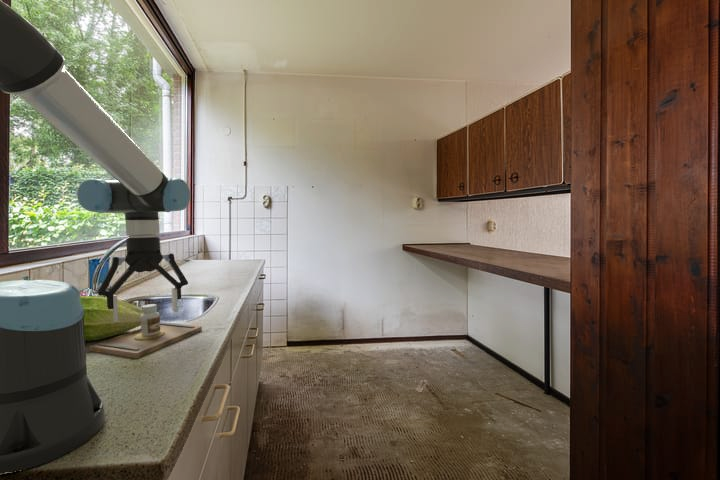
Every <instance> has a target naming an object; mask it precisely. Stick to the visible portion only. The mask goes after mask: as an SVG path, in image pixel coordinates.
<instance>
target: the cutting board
mask: <svg viewBox="0 0 720 480" xmlns="http://www.w3.org/2000/svg"><path fill="white" fill-rule="evenodd" d="M202 327H203V326H201V325H190V324H189V325H188V324H182V323H171V322H163V321H160V333H158V334H155V335H151V336H143V335H142V334H141V328H138V329H135V330H134V331H128V332H126V333H123V334H120V335H117V336H114V337H112V338H109V339H107V340H104V341H100V342H98V343H95V344H93V345H92V344H91V345H89V351H90V352H94V353H99V354H108V355H113V356H119V357H127V358H132V359H138V358H142V357H143V356H144V357H145V355H148V354H150V353H152V352H155V351H157V350H159V349H162V348H164V347H167V346H169V345H172V344H174V343H176V342H178V341H180V340H184V339H186V338H188V337H190V336H192V335H191V334H193V333H195V334H197V333H199V332H198V331H200V330H202ZM202 331H203V330H202ZM196 332H197V333H196ZM200 332H201V331H200ZM189 335H190V336H189ZM193 335H194V334H193ZM187 336H188V337H187ZM185 337H186V338H185Z"/></svg>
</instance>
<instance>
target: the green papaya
mask: <svg viewBox="0 0 720 480" xmlns="http://www.w3.org/2000/svg"><path fill="white" fill-rule="evenodd" d="M80 298H81V305H82V306H83V309H84V310H83V312H84V314H83V315H84V333H85V342H94V341H99V340H103V339H107V338H111V337H117V336H121V335H124V334H126V333H128V332H130V331H131V330H134V329H136V328H139V327H141V318H140V316H141V315H142V314H143V312H142V307H140V306H137V305H135V304H133V303H131V302H128V301H125V300H122V299H118V298H117V307H118V322H114V321H113V309H108V307H107V297H106V296H103V295H97V296H96V295H80Z"/></svg>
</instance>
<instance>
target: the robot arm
mask: <svg viewBox="0 0 720 480" xmlns="http://www.w3.org/2000/svg"><path fill="white" fill-rule="evenodd" d="M65 64H66V59H65V58H64V56H63V54H62V53H60V51H59V50H58V49H57V48H56V47H55V46H54V44H52V43H51V41H50V40H48V39H47V38H46V36H44V35H43V33H41V31H40V30H39V29H37V28H36V27H35V26H34V25H33V24H32V23H30V22H29V21H28V20H27V19H26V18H25V17H24V16H23V15H21V14H19V12H18V11H15V10H14V9H13V8H12V7H11V5H8V4H7V3H6V2H4V1H2V0H0V91H1V92H3V93H4V94H9V95H15V96H19V97H20V98H21V99H22V101H24V102H26V103H27V104H28V105H29V107H32V109H34V110H35V111H36V112H37V113H38V114H40V116H41V117H42V118H44V119H45V120H46V121H48V122H49V123H50V124H51V125H52V126H53V127H55V128H56V129H57V130H58V131H59V132H60V133H61V134H63V135H64V136H65V137H66V138H67V139H68V140H69V141H71V142H72V143H73V144H74V145H76V146H77V148H79V149H80V150H82V152H84V153H85V154H86V155H87V157H89V158H91V160H93V161H94V162H95V163H96V164H97V165H99V167H101V168H102V169H103V170H104V171H106V172H107V173H108V174H109V175H110V176H111V177H112V178H114V180H110V179H105V178H87V179H85V180H83V181H82V182H81V183H80V184H79V186H78V188H77V190H76V193H77V202H78V203H79V206H81V207H82V208H83V209H84V210H86V211H88V212H90V213H91V212H92V213H98V214H105V213H106V214H124V217H125V218H124V220H125V235H126V236H127V238H126V255H125V256H123V257H122V256H112V257H111V266H110V267H109V268H108V271H107V272H106V275H105V276H104V278H103V280H102V281H101V284H100V286H99V287H98V289H97V291H96V293H97V294H98V296H103V297H107V307H108V309H113V321H114V322H118V307H117V299H118V295H116V294H115V293H117V291H119V290H120V288H121V287H122V286H123V285H124V284H125V283H126V282H127V280H128V279H129V278H130V277H131V275H133V274H134V273H135V272H137V273H143V272H149V273H150V272H153V271H155V270H156V271H157V272H158V273H159V274H160V275H161V276H163V278H165V279H166V280H167V281H168V282H169V283H170V284H171V285H173V286H174V287H171V301H172V305H171V306H172V311H173V313H179V308H178V307H179V306H178V300H181V299H182V288H183V287H185V286H187V285H188V284H189V281H188V280H187V278H186V277H185V275H184V274H183V272H182V270H181V269H180V267H179V265H178V264H177V263H176V258H175V255H174V253H171V252H168V253H165V254H162V251H161V238H160V237H159V235H160V233H161V232H160V231H161V230H160V220H159V219H160V218H159V213H171V212H181V211H184V210H186V209H187V207H188V206H189V204H190V201H191V190H190V187H189V186H188V183H187V182H186V181H185V180H184V179H181V178H175V177H167V176H166V175H165V173H163V172H162V171H161V170H160V168H159V167H158V166H157V165H156V164H155V163H154V161H152V160H151V158H150V157H148V156H147V154H146V153H145V152H144V151H143V150H142V149H141V148H140V147H139V146H138V145H137V143H135V142H134V141H133V139H132V138H131V137H130V136H129V135H128V134H127V133H126V132H125V131H124V130H123V129H122V128H121V126H120V125H119V124H118V123H116V121H115V120H113V118H112V117H111V116H110V114H108V113H107V111H105V110H104V108H103V107H101V105H100V104H99V103H98V102H97V101H96V100H95V99H94V98H93V97H92V96H91V95H90V94H89V93H88V91H86V89H85V88H84V87H83V86H82V85H81V84H80V83H79V82H78V81H77V80H76V79H75V78H74V76H73V75H72V74H70V72H68V70H66V68H65ZM163 259H164V260H165V262H168V264H169V265H170V267H171V269H172V270H173V272H174V273H175V275H176V277H177V279H178V280H179V281H178V280H176V279H175V278H174V277H173V276H172V275H171V274H170V273H168V271H166V270H165V268H163V266H162V265H161V264H160V263H162V261H163ZM124 262H125V263H126V264H127V265H128V267H127V268H126V269H125V271H124V272H123V273H122V274H121V276H120V277H119V278H118V279H117V280H116V281H115V282H114V283H113V284H112V285H111V287H110V288H109V289H108V287H109V285H110V283H111V282H112V279H113V277H114V276H115V273H116V272H117V270H118V267H119V266H122V264H123V263H124ZM80 296H81V295H80V291H79V289H78V288H77V287H76V286H75V285H72V284H70V283H68V282H64V281H60V280H59V281H58V280H52V279H51V280H49V279H48V280H47V279H34V280H28V279H21V280H20V279H19V280H17V279H16V280H8V281H6V280H5V281H0V473H5V472H15V471H19V472H23V471H25V470H24V469H26V470H29V469H28V468H30V469H33V468H37V467H38V466H41V465H44V464H46V463H48V461H49V462H51V461H53V460H56V459H57V458H60V457H62V456H64V455H65V454H69V453H70V452H72V451H75V450H76V449H77V448H78V447H80V446H82V445H83V444H85V443H86V442H87V441H89V440H90V439H92V438H93V437H94V436H95V435H96V434H97V433H99V431H100V430H101V429H102V427H103V425H104V424H105V420H106V419H105V418H106V417H105V407H104V404H103V402H102V400H101V398H100V396H99V395H98V393H97V391H96V389H95V387H94V386H93V383H92V382H91V380H90V378H89V377H88V369H87V367H88V366H87V355H86V353H87V352H86V341H85V333H84V315H83V314H84V312H83V310H84V309H83V306H82V305H81V298H80ZM43 463H44V464H43ZM32 467H33V468H32ZM20 470H21V471H20ZM22 470H23V471H22Z"/></svg>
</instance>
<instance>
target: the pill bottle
mask: <svg viewBox="0 0 720 480" xmlns="http://www.w3.org/2000/svg"><path fill="white" fill-rule="evenodd" d="M141 308H142V312H143V314H142V315H141V316H140V318H141V326H140V329H141V334H142V335H143V336H151V335H155V334H158V333H160V322H161V319H160V318H161V317H160V312H158V311H157V310H158V305H157V303H156V304H155V303H150V304H144V305H142V306H141Z"/></svg>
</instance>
